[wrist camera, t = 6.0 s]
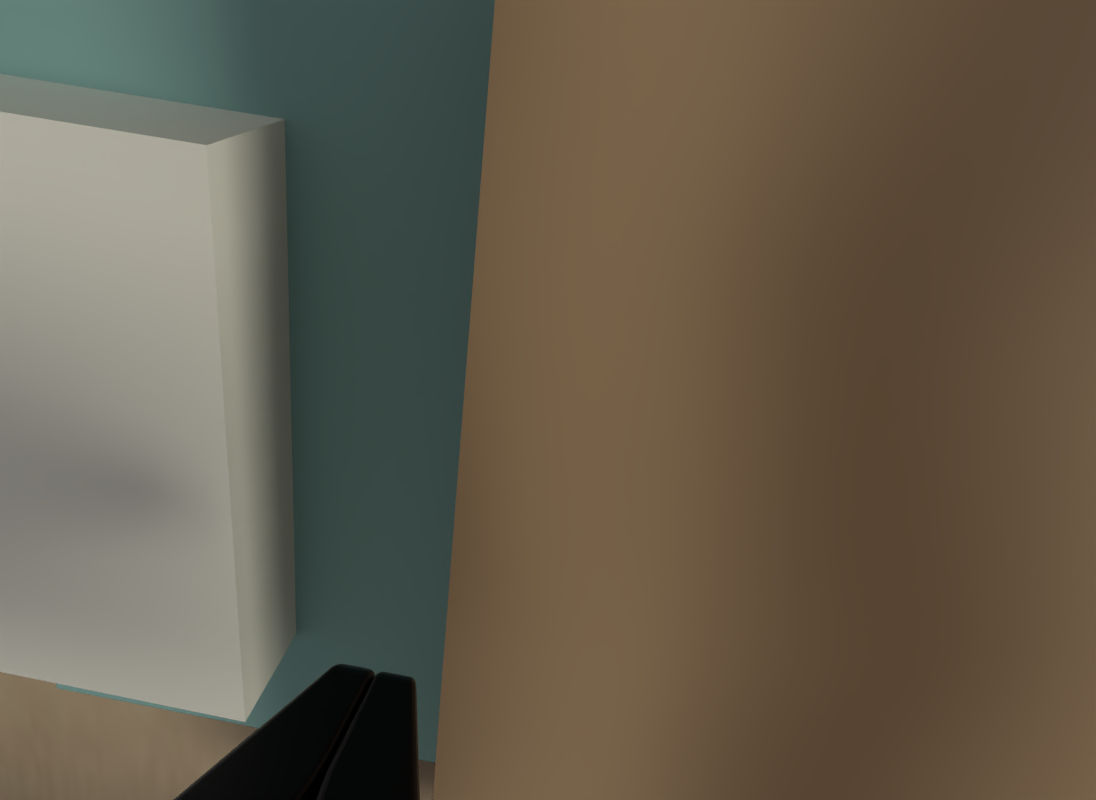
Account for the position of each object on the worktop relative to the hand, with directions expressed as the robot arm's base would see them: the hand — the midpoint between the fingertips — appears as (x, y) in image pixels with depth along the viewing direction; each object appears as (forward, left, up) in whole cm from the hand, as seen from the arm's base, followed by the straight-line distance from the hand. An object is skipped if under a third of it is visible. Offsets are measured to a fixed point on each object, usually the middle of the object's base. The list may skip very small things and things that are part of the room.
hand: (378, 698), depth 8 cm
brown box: (-5, 0, -5) cm, 7 cm away
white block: (+6, 0, -3) cm, 6 cm away
